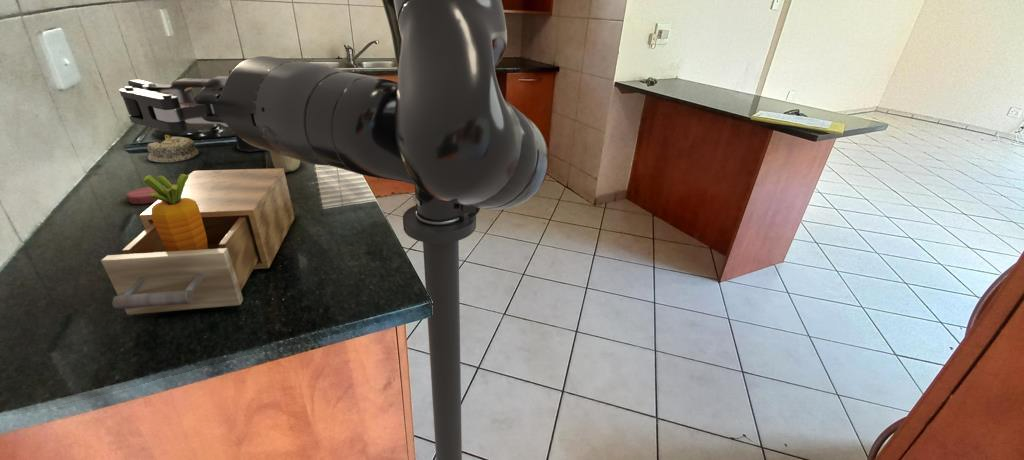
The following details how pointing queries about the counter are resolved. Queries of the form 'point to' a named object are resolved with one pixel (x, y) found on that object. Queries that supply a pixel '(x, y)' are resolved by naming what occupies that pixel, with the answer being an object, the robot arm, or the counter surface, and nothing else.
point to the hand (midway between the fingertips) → (188, 86)
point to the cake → (172, 149)
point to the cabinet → (243, 203)
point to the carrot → (176, 216)
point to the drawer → (184, 269)
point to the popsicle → (142, 195)
